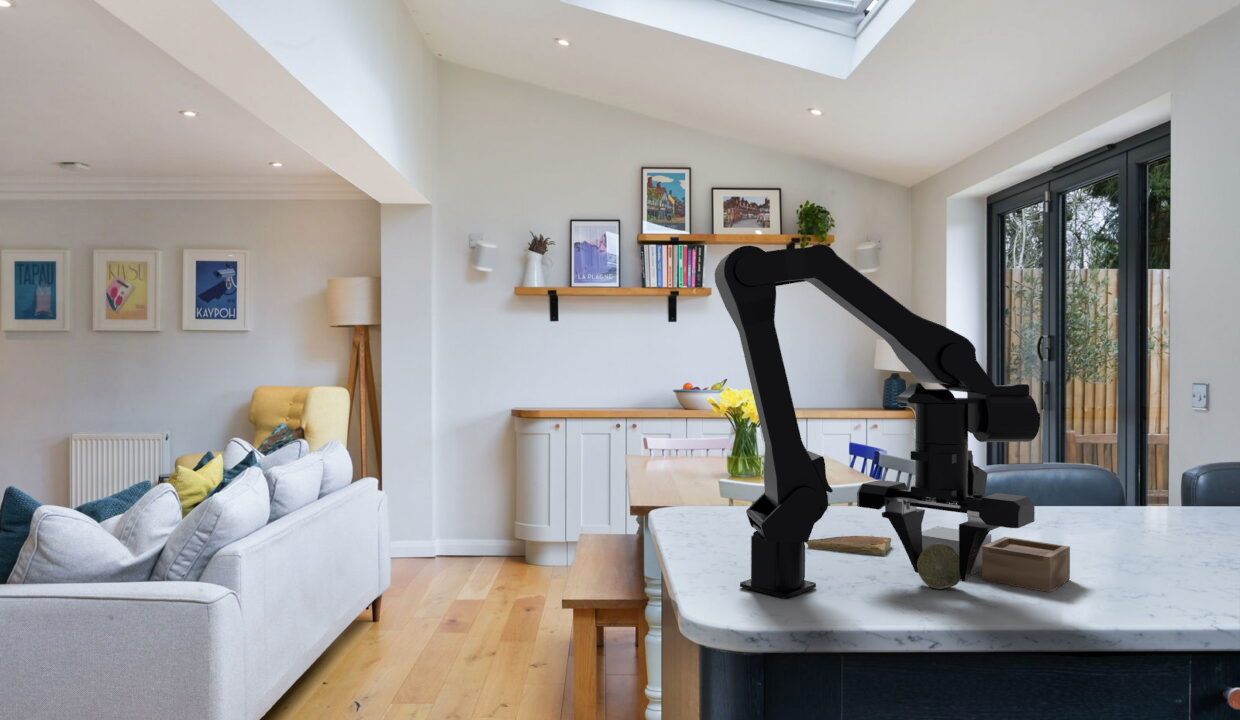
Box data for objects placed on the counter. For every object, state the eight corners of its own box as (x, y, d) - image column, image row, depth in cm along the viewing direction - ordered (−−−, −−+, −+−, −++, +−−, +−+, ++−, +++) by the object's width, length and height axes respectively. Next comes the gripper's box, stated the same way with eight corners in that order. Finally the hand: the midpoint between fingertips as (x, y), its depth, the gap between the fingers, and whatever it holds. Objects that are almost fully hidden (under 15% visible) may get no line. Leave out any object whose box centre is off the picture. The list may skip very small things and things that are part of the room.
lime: (968, 592, 92) (968, 548, 92) (925, 592, 92) (926, 548, 92) (953, 581, 97) (953, 539, 97) (912, 581, 97) (912, 539, 97)
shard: (804, 551, 114) (804, 538, 114) (816, 540, 121) (816, 527, 121) (884, 560, 109) (884, 546, 109) (892, 548, 116) (892, 535, 116)
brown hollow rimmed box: (1049, 592, 92) (1049, 557, 92) (982, 579, 98) (982, 546, 98) (1069, 579, 98) (1069, 546, 98) (1004, 568, 103) (1004, 536, 103)
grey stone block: (969, 575, 100) (970, 542, 99) (914, 565, 104) (914, 534, 104) (991, 565, 104) (991, 534, 104) (937, 555, 109) (937, 526, 109)
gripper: (1050, 443, 94) (1050, 578, 94) (896, 432, 107) (896, 551, 107) (1016, 450, 86) (1016, 598, 86) (854, 438, 99) (854, 566, 99)
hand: (941, 576), depth 94 cm, fingers closed on lime, 5 cm apart
